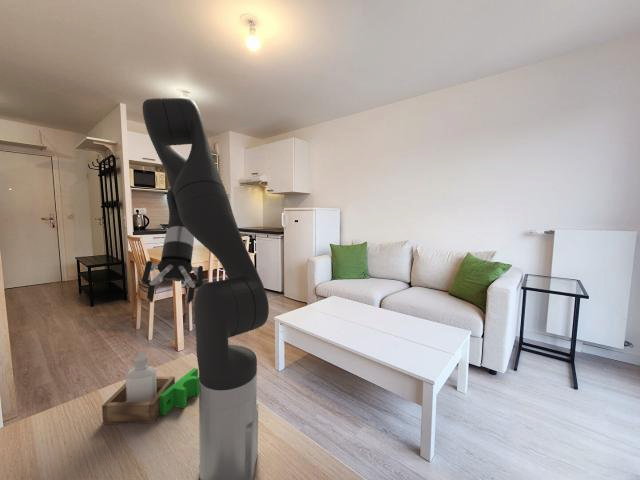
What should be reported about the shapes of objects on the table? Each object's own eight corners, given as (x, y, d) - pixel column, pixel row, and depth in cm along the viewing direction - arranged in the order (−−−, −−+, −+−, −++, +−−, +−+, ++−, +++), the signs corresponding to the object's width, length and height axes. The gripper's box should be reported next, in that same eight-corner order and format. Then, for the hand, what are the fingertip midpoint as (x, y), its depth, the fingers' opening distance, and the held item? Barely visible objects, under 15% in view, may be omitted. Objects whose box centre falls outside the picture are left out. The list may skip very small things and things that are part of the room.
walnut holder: (174, 391, 68) (174, 376, 67) (153, 422, 58) (153, 404, 57) (132, 392, 67) (131, 376, 66) (102, 423, 57) (102, 405, 57)
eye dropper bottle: (143, 412, 60) (142, 359, 59) (123, 407, 61) (121, 355, 60) (160, 399, 64) (159, 349, 63) (140, 394, 65) (139, 346, 64)
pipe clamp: (174, 418, 59) (173, 398, 59) (159, 415, 60) (159, 395, 60) (207, 387, 70) (206, 369, 70) (194, 384, 71) (193, 367, 71)
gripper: (149, 236, 72) (137, 297, 65) (207, 243, 79) (202, 299, 72) (149, 248, 78) (137, 305, 71) (203, 254, 85) (197, 307, 78)
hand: (170, 302), depth 71 cm, fingers open, 8 cm apart
